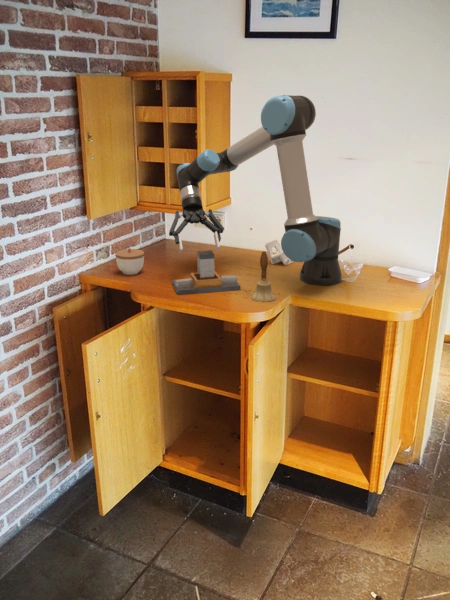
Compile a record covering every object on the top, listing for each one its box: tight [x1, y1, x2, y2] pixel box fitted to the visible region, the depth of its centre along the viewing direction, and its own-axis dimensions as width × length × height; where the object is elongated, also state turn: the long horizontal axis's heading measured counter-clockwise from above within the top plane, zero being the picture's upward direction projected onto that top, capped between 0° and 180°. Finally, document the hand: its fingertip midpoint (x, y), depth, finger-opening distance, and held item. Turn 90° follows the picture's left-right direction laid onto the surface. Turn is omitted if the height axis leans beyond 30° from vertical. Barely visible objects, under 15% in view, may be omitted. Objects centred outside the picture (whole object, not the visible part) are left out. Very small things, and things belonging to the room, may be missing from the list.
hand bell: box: [250, 251, 277, 303], centre depth 185 cm, size 8×8×16 cm
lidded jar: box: [114, 247, 145, 276], centre depth 212 cm, size 11×11×9 cm
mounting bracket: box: [265, 239, 294, 266], centre depth 227 cm, size 12×6×11 cm, turn 146°
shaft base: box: [171, 270, 241, 296], centre depth 197 cm, size 22×12×4 cm, turn 104°
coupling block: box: [196, 250, 215, 280], centre depth 196 cm, size 5×5×11 cm
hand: (200, 250), depth 202 cm, fingers open, 13 cm apart
